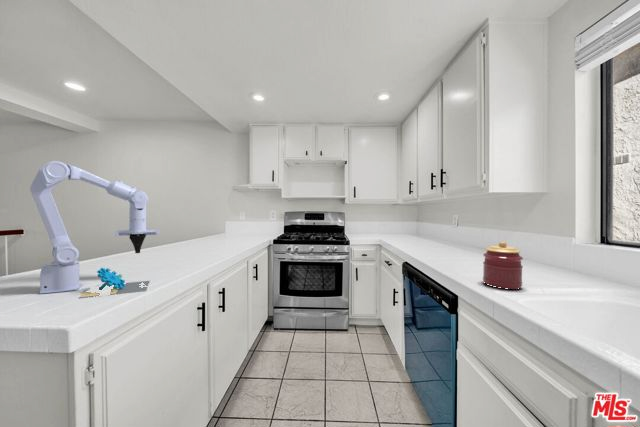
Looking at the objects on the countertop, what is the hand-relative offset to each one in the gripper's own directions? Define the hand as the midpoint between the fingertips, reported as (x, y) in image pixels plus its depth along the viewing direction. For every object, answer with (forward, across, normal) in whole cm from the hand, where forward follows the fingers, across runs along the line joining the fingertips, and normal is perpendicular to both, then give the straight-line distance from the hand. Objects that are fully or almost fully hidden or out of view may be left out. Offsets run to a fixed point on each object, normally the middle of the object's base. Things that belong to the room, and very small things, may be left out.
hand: (137, 252), depth 109 cm
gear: (+11, -6, -14) cm, 18 cm away
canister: (+11, +128, -72) cm, 148 cm away
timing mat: (+11, -4, -14) cm, 18 cm away
